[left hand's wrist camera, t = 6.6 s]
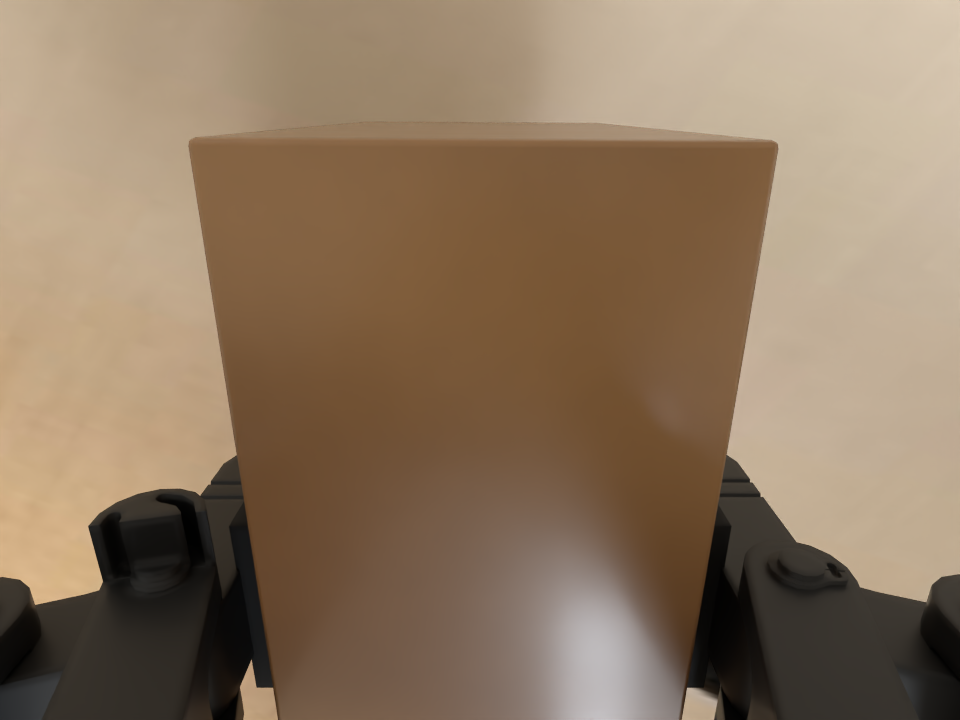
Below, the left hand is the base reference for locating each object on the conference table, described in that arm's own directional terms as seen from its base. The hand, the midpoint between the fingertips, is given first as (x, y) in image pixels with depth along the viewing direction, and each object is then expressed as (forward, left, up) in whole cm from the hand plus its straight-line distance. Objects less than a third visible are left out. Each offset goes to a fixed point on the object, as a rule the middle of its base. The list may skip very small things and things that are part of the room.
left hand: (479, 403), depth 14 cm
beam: (+11, +32, -1) cm, 34 cm away
